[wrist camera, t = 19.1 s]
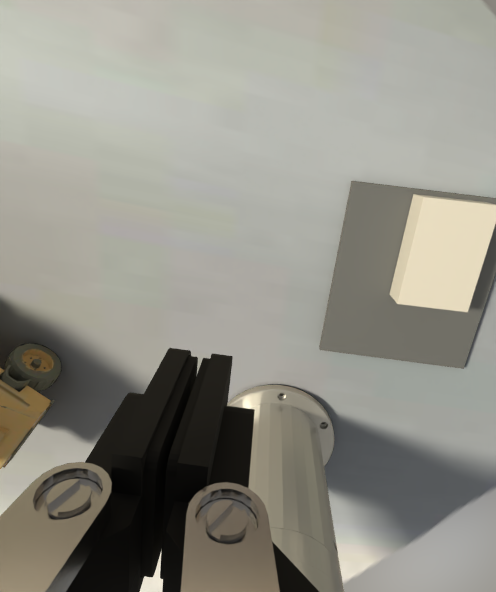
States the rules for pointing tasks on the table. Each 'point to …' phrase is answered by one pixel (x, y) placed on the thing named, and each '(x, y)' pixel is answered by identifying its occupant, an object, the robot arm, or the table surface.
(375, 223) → the mat
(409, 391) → the table surface
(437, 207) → the card box
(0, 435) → the toy car
